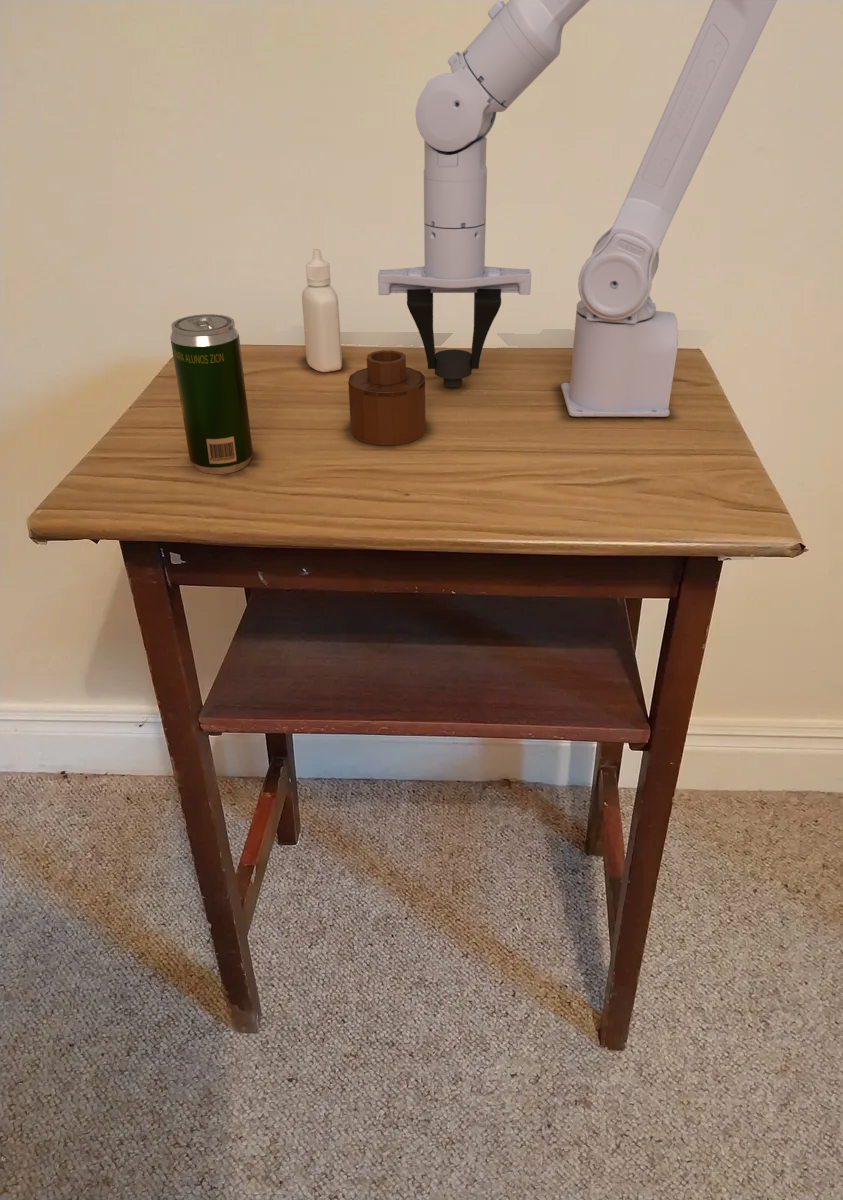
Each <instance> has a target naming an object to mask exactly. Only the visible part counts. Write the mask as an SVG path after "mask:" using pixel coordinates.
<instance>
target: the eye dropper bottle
mask: <svg viewBox="0 0 843 1200" xmlns="http://www.w3.org/2000/svg"><path fill="white" fill-rule="evenodd" d="M305 271H306V272H305V273H306V284H307V285H306V286H305V287H304V288H303V289H302V292H301V304H302V317H303V319H302V320H303V331H304V343H305V354H306V355H305V357H306V358H305V359H306V362H307V364H308V366H309V367H310V368H312V369H313V370H316V371H318V372H320V373H329V372H330V373H331V372H335V371H340V370H341V369H342V367H343V361H342V360H343V357H342V339H341V337H342V336H341V323H340V322H341V321H340V306H339V305H340V304H339V297H338V294H337V291H335V289H334V288H333V286H332V285H331V267H330V263H329V262H328V261H325V260H324V259H323V256H322V251H321V249H319V248H314V249H313V250H312V258H311V260H310V261H309V262H307V263H306V264H305Z"/></svg>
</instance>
